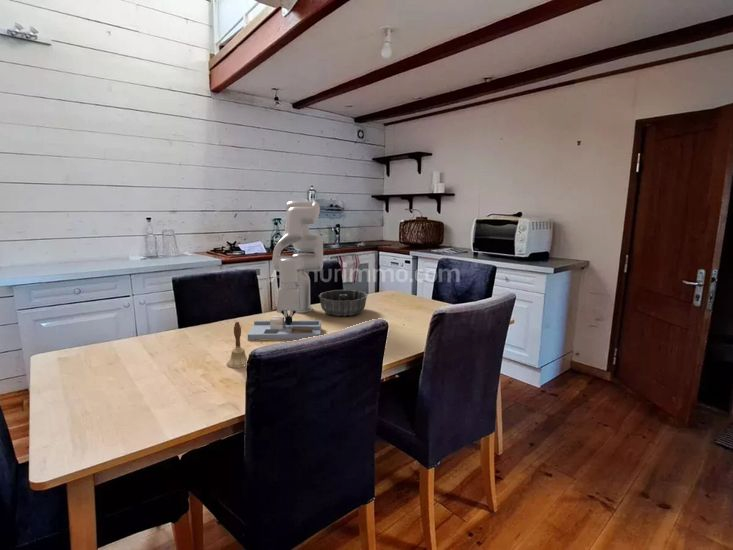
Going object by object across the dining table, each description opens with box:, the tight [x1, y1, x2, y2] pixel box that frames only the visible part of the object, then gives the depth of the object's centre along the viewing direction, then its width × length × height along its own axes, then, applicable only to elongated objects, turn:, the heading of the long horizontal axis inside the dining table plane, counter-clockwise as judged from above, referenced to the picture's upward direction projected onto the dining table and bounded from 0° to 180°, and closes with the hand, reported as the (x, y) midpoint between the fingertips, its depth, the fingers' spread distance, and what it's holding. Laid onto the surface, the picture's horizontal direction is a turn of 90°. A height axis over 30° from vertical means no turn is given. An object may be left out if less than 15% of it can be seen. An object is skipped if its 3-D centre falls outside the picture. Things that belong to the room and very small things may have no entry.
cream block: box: [269, 315, 285, 329], centre depth 178 cm, size 6×6×4 cm
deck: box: [247, 320, 322, 341], centre depth 177 cm, size 15×31×4 cm, turn 95°
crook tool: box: [292, 328, 312, 333], centre depth 173 cm, size 3×9×1 cm, turn 95°
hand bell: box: [226, 321, 248, 369], centre depth 143 cm, size 8×8×16 cm
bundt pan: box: [318, 289, 368, 317], centre depth 214 cm, size 26×26×10 cm
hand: (288, 324), depth 179 cm, fingers closed
